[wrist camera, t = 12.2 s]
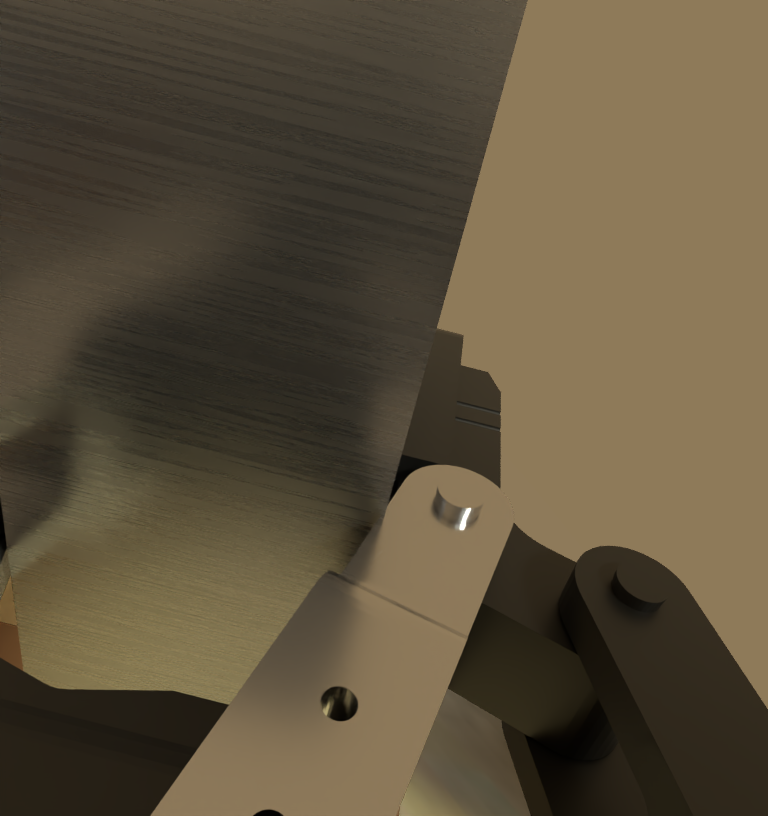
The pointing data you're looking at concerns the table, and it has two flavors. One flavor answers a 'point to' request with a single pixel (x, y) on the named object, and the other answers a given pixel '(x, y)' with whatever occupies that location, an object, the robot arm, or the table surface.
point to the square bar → (218, 307)
